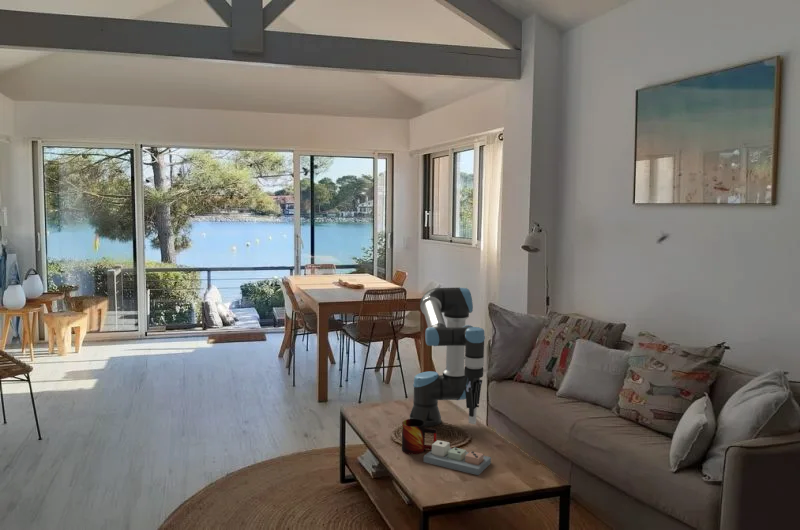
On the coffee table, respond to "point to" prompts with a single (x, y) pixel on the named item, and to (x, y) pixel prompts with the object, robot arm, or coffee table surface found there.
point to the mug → (415, 436)
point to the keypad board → (457, 463)
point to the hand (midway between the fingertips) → (472, 423)
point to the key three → (474, 458)
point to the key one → (440, 448)
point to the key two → (457, 454)
